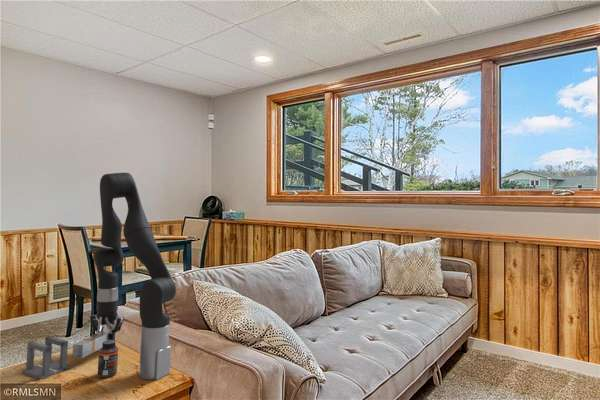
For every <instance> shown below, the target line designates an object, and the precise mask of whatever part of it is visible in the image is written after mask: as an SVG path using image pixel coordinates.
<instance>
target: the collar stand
mask: <svg viewBox="0 0 600 400" xmlns="http://www.w3.org/2000/svg"><path fill="white" fill-rule="evenodd" d="M44 340H45V341H44V343H45V344H43V343H40V342H36V341H28V342H27V343H26V344H27V346H26V365H25V366H26V367H25V369H23V370H21V372H22V373H21V374H23V375H26V376H29V377H30V378H34V377H35V378H34V379H36V378H37V380H40V381H42V380H44V379H47V378H49V377H52V376H54V375H57V374H60V373H62V371H63V372H64V371H65V372H66V371H67V370H70V369H71V365H69V364H68V352H69V351H68V348H69V347H68V346H69V341H68V340H65V339H62V338H58V337H54V336H52V335H51V336H50V335H49V336H46V337H45V338H44ZM53 345H57V346H59V347H60V354H59V355H60V356H59V361H57V360H53V359H52V350H53ZM35 350H36V351H39V352H42V363H40V364H37V365H34V364H35Z"/></svg>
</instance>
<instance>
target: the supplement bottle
mask: <svg viewBox="0 0 600 400" xmlns="http://www.w3.org/2000/svg"><path fill="white" fill-rule="evenodd" d="M102 346H103V347H102V348H101V349H99V350H98V360H97V361H98V363H97V377H99V378H102V379H103V378H104V379H106V378H107V379H108V378H111V377H114V376H115V375H117V372H118V358H119V357H118V356H119V347H117V344H116V339H115V340H106V341H104V342H103V345H102Z"/></svg>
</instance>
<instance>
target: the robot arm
mask: <svg viewBox="0 0 600 400" xmlns="http://www.w3.org/2000/svg"><path fill="white" fill-rule="evenodd" d="M99 198H100V199H99V200H100V208H101V210H100V211H101V221H102V222H101V223H102V224H101V235H100V243H101V245H102V246H104V248H98V249H97V250H96V251H95V252H94V255H93V260H94V263H95V267H96V270H97V276H98V280H97V283H98V285H97V293H96V312H97V313H96V314H93V315H91V316H89V320H90V323H91V324H90V325H91V327H92V331H93V332H97V333H99V332H101V331H103V330H105V328H106V327H107V330H109V333H110V334H109V340H115V341H116V333H117V332H120V331H121V329H122V326H123V323H124V320H125V317H124V316H119V315H118V310H119V309H118V308H119V287H118V286H119V274H118V272H116V271H109V270H107V269H105V267H117V266H121V265H122V263H123V262H124V252H123V249H122V235H123V237H124V240H125V242H126V245H127V248H128V250H129V251H130V253H131V254H133V256H134V257H135V258H136V259H137V260H138V261H139V262H140V263H141V265H143V266H144V267H145V269H146V270H147V272H148V274H149V277H150V278H151V279H148V280H145V281H144V282H143V283H142V284H141V287H140V290H139V316H140V317H139V318H140V320H141V327H140V328H141V330H140V331H141V332H140V349H139V351H140V352H139V370H138V371H139V373H138V375H139V377H140V378H141V379H142V380H156V381H158V380H159V379H161V378H164V377H165V376H167V375H169V374H170V373H171V356H172V355H171V352H172V345H170V329H171V328H170V324H171V323H170V322H171V317H170V315H169V313H166V312H163V305H164V304H165V303H169V302H171V301H173V300H174V298H175V297H176V292H177V288H176V284H175V281H174V279H173V277H172V275H171V273H170V271H169V269H168V267H167V265H166V263H165V261H164V259H163V257H162V254H161V252H160V250H159V246H158V244H157V241H156V238H155V237H154V234H153V231H152V228H151V225H150V224H149V220H148V218H147V216H146V213H145V210H144V208H143V205H142V202H141V199H140V194H139V191H138V187H137V185H136V182H135V179H134V177H133V175H132V174H131V173H130V172H116V173H115V172H113V173H106V174H103V175H102V176H101V178H100V180H99ZM121 198H125V201H126V204H127V214H126V218H125V221H124V225H123V224H122V221H121V219H120V217H119V216H118V215H117V213H116V211H115V210H114V206H113V203H114V202H113V200H114V199H121ZM105 247H106V248H105ZM97 333H96V334H97Z"/></svg>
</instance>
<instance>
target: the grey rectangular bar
mask: <svg viewBox="0 0 600 400" xmlns="http://www.w3.org/2000/svg"><path fill="white" fill-rule="evenodd" d="M109 334H110V333H109V329H104V330H103V331H101V332H99V333H95V334H92V335H91V336H88V337H86V338H83V339H81V340H80V341H77V342H75V343H73V345H72V357H73V358H80V359H83V358H85V357H88V356H89V355H91V354H93V353H95V352H96V351H99V350H100V349H101V348H102V347H103V346H102V345H103V342H104V341H106V340H109Z"/></svg>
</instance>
